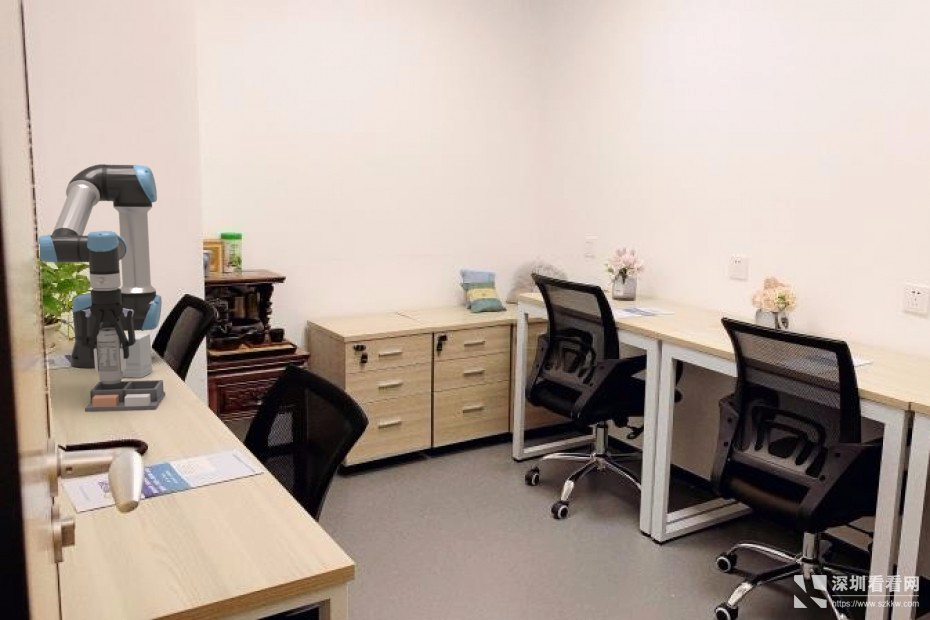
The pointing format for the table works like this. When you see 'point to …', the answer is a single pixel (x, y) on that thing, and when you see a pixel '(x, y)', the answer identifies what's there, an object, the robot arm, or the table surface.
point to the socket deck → (128, 390)
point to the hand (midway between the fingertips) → (110, 369)
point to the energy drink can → (109, 356)
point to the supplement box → (139, 357)
